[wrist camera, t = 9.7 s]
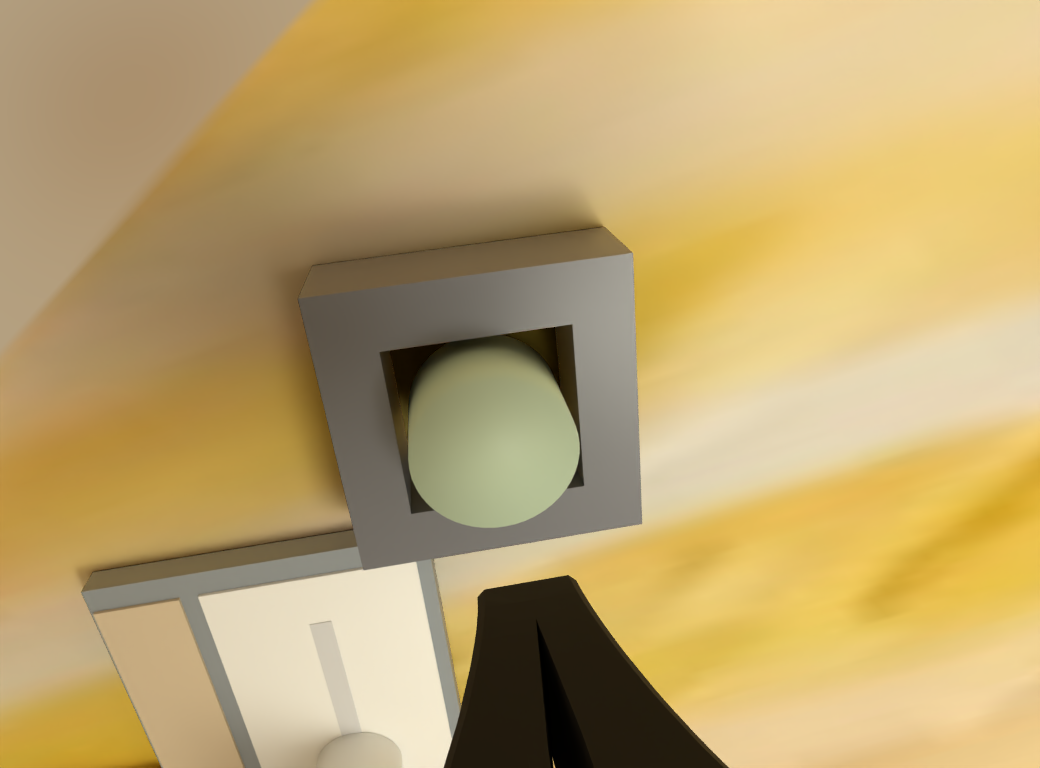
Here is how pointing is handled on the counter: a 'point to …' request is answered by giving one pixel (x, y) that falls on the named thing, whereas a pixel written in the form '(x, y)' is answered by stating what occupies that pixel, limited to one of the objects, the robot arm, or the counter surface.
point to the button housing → (466, 315)
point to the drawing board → (280, 653)
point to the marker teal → (360, 752)
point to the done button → (489, 433)
